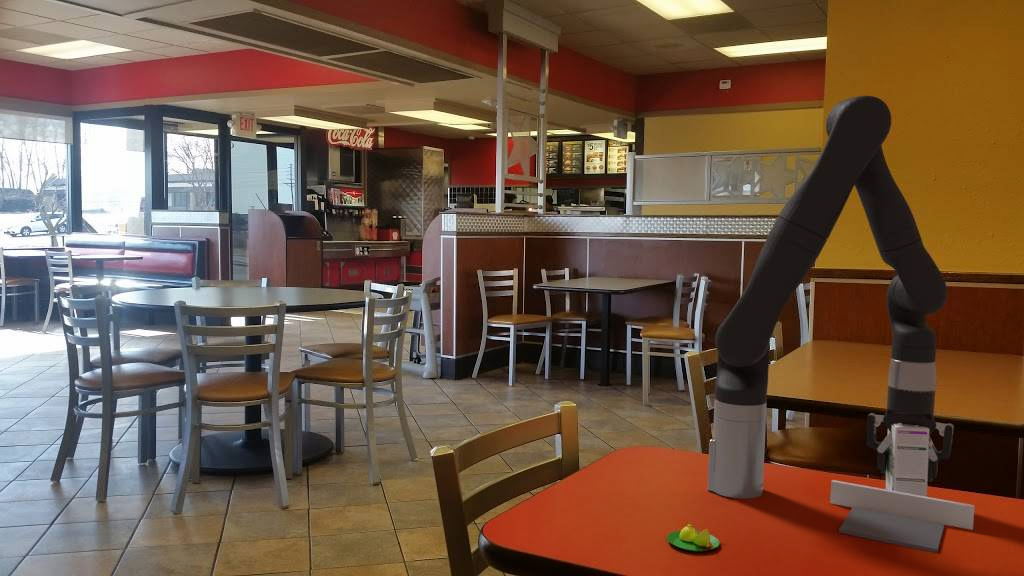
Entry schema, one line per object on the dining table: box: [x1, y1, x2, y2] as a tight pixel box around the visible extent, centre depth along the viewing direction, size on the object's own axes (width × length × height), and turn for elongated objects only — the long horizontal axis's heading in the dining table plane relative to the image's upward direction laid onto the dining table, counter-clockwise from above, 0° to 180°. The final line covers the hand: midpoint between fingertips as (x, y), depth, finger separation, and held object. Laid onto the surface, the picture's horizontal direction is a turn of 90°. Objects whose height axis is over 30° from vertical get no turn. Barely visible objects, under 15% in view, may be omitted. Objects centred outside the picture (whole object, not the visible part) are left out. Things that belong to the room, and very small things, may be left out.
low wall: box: [829, 479, 975, 531], centre depth 136 cm, size 22×1×4 cm, turn 57°
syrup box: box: [884, 424, 930, 497], centre depth 142 cm, size 6×6×14 cm
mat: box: [838, 507, 945, 554], centre depth 129 cm, size 14×12×1 cm
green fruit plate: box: [666, 524, 720, 552], centre depth 123 cm, size 8×8×3 cm
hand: (906, 476), depth 142 cm, fingers closed on syrup box, 7 cm apart
